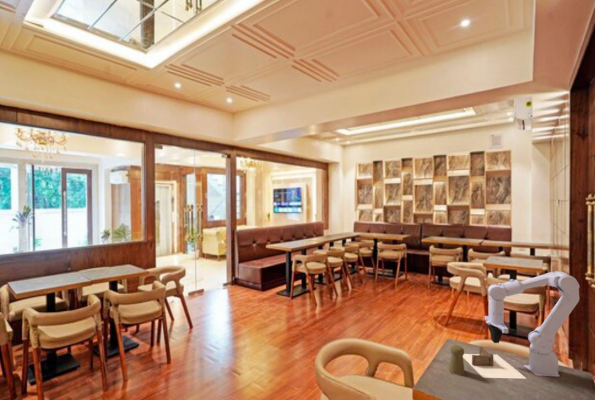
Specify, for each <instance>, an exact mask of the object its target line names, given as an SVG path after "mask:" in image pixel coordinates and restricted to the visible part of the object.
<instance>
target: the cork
mask: <svg viewBox="0 0 595 400" xmlns="http://www.w3.org/2000/svg"><path fill="white" fill-rule="evenodd" d="M450 353H451V357H450V364H449V369H448V372H449V373H450V374H452V375H457V376H464V375H465V373H466V370H465V362H464V358H463V355H464V354H465V349H464V348H463V347H462V346H461V345H458V344H457V345H456V344H453V345H451V346H450Z"/></svg>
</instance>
